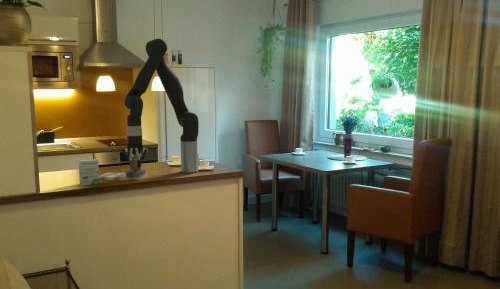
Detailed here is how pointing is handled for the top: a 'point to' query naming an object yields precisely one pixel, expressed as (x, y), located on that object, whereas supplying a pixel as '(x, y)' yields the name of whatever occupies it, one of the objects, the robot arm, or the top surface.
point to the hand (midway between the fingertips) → (135, 167)
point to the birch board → (119, 176)
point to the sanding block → (135, 169)
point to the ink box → (89, 172)
